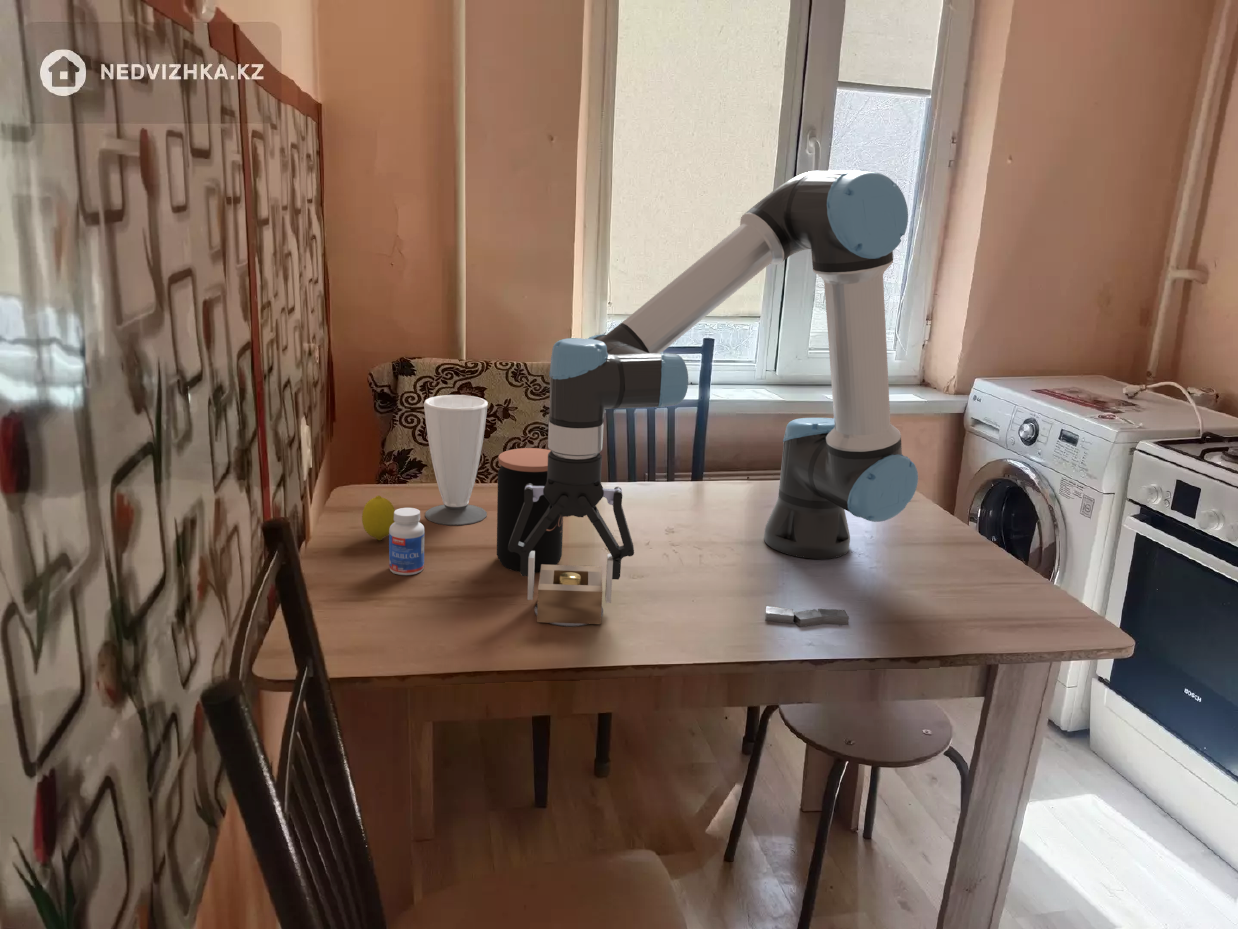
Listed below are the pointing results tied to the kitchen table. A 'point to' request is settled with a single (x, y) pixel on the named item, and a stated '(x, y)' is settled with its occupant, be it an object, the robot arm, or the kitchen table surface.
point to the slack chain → (806, 616)
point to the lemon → (378, 517)
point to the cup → (455, 455)
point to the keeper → (568, 579)
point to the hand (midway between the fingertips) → (569, 597)
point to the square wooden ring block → (570, 595)
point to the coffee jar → (511, 486)
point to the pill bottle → (406, 542)
